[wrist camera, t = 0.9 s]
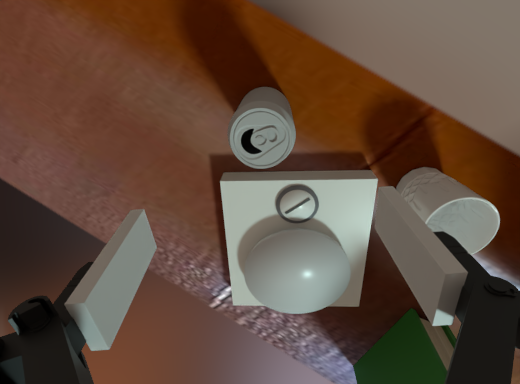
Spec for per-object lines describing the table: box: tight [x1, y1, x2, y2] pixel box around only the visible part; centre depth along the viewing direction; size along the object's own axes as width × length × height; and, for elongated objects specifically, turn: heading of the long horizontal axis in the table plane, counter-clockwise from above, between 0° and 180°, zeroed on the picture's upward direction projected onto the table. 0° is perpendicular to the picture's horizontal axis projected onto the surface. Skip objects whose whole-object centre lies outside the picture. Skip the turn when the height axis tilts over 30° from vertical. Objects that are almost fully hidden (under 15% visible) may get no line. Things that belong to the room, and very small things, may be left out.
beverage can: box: [228, 87, 296, 169], centre depth 32 cm, size 6×6×12 cm
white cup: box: [396, 167, 500, 255], centre depth 37 cm, size 8×8×10 cm
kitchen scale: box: [220, 170, 378, 314], centre depth 43 cm, size 20×22×5 cm
